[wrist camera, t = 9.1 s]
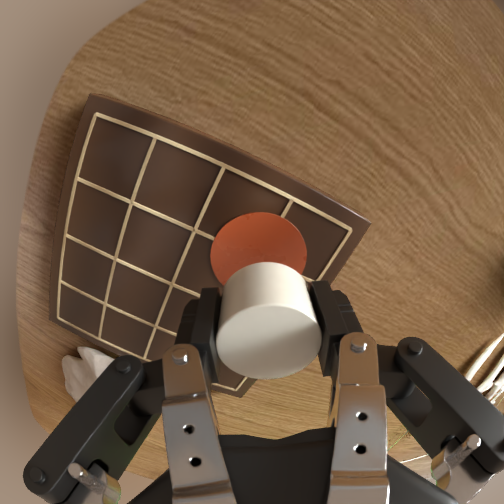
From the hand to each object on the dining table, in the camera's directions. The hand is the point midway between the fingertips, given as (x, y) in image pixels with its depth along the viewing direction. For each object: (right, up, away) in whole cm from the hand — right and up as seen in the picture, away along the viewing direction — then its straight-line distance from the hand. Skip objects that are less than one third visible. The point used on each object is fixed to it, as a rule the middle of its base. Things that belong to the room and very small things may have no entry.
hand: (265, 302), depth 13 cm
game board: (-6, +1, +6) cm, 8 cm away
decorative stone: (-16, -12, +12) cm, 23 cm away
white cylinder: (0, 0, 0) cm, 0 cm away
